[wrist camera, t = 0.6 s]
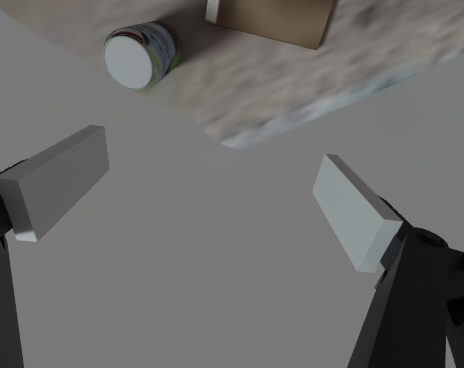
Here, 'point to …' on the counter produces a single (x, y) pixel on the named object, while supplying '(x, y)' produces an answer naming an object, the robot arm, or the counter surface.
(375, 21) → the counter surface
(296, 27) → the wall board
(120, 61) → the beverage can
